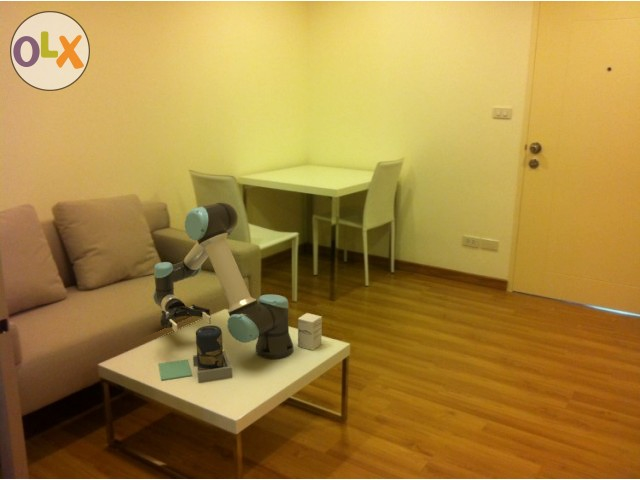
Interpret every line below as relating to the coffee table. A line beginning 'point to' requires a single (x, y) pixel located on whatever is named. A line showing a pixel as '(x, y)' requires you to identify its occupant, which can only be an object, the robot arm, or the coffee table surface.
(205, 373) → the frame
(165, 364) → the mat
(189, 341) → the coffee table surface
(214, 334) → the canister
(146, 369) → the coffee table surface
